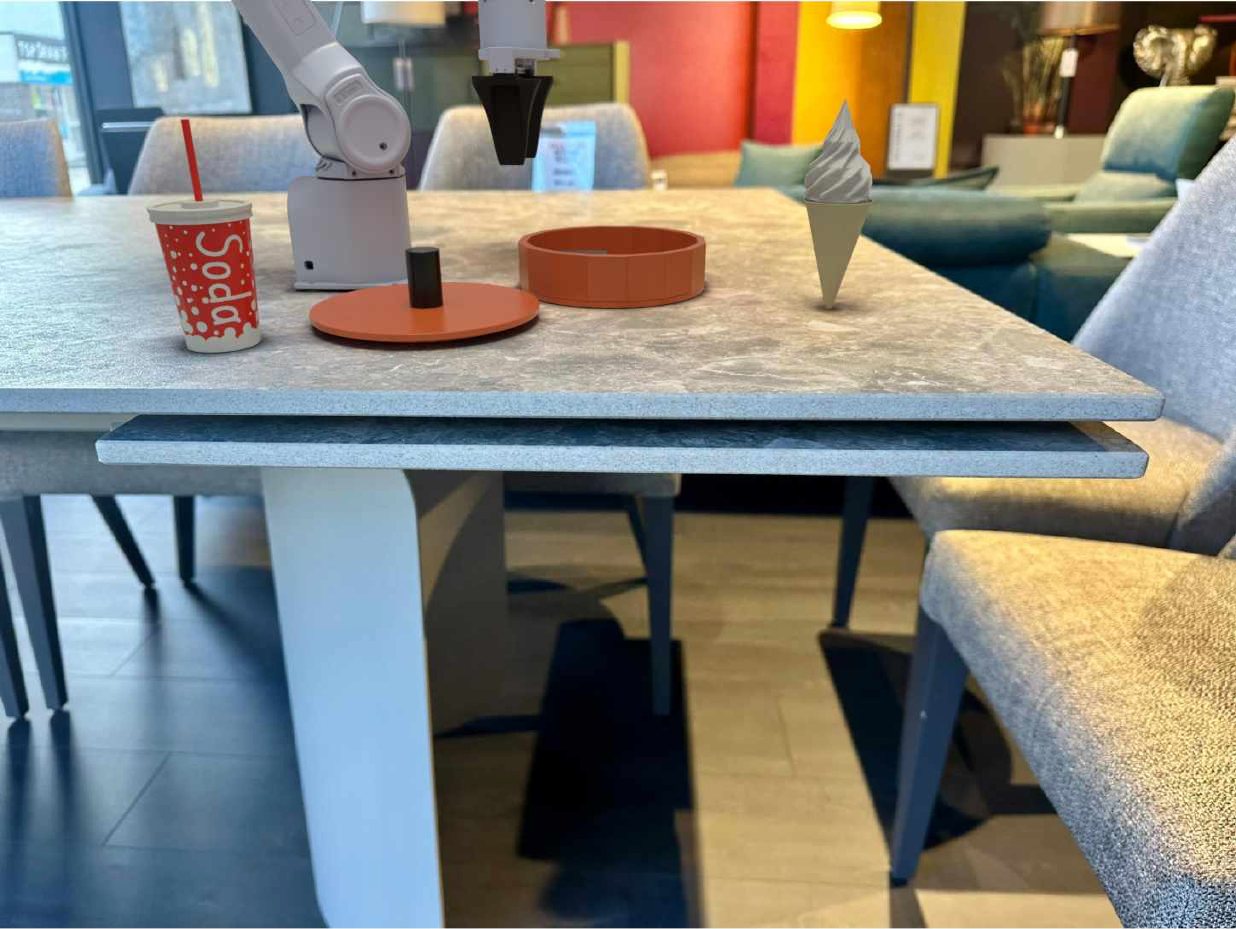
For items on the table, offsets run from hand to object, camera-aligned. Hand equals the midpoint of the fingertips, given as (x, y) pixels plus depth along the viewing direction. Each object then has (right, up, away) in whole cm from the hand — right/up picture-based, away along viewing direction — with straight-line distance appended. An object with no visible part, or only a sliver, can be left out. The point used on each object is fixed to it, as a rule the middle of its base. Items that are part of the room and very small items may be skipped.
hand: (518, 161), depth 82 cm
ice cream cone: (+25, -16, -12) cm, 32 cm away
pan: (+9, -12, -5) cm, 16 cm away
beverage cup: (-17, -20, -21) cm, 34 cm away
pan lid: (-5, -16, -16) cm, 23 cm away
